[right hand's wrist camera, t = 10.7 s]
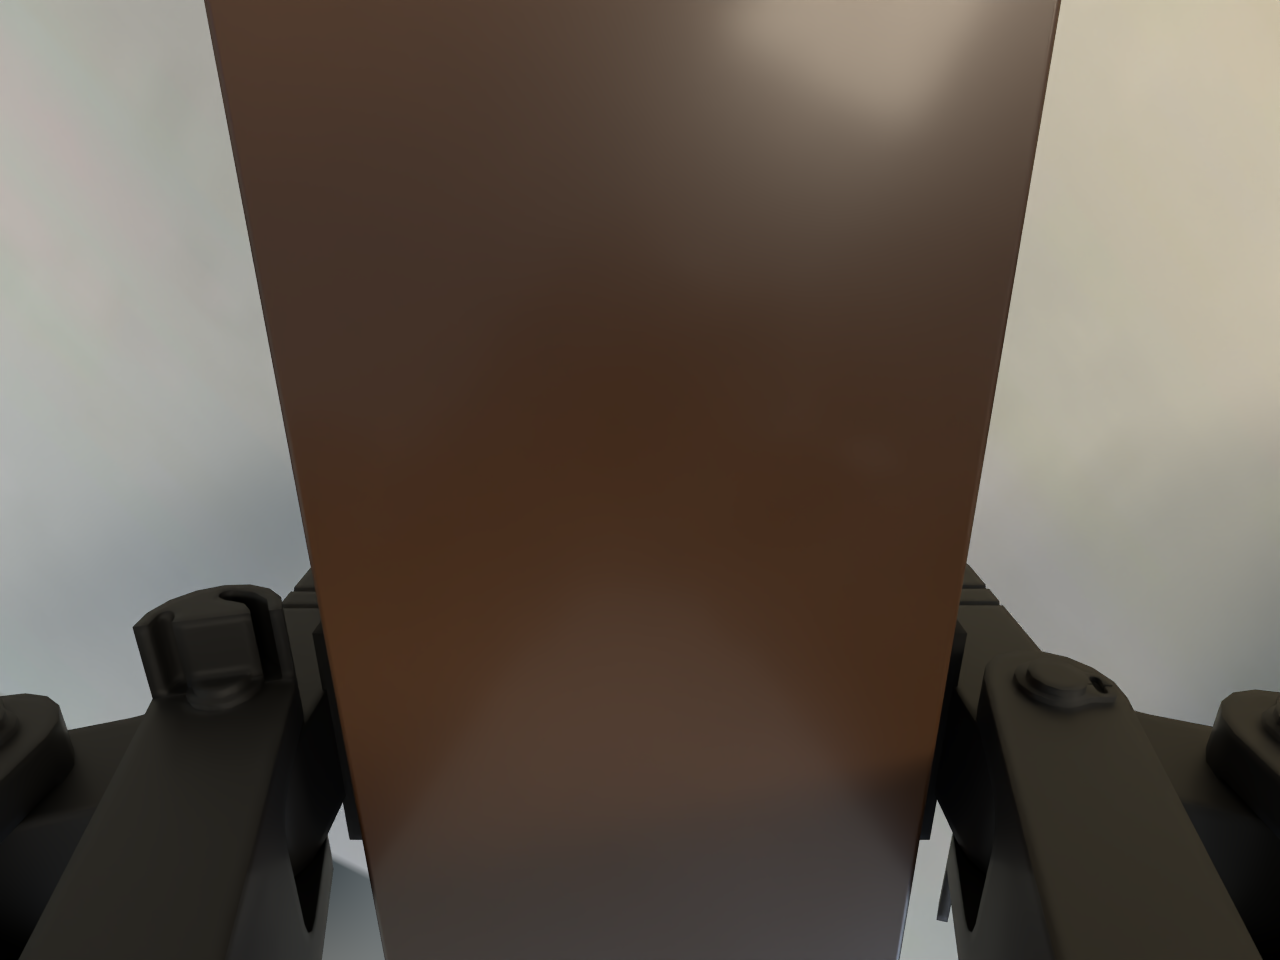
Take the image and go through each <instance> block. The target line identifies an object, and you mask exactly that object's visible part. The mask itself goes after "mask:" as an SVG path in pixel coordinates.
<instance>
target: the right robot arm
mask: <svg viewBox="0 0 1280 960" xmlns="http://www.w3.org/2000/svg"><path fill="white" fill-rule="evenodd" d="M133 630H134V634H135V638H136V641H137V645H138V648H139V652H140V655H141V659H142V662H143V666H144V670H145V673H146V677H147V680H148V684H149V687H150V691H151V694H152V698H153V699H152V701H151V703H150V705H149V707H148V709H147V711H146V713H145V715H141V716H137V717H133V718H129V719H123V720H118V721H113V722H108V723H103V724H98V725H93V726H88V727H83V728H77V729H72V730H67V727H66V725H65V722H64V719H63V716H62V713H61V710H60V707H59V705H58V704H57V703H55V702H54V701H53V700H51V699H50V698H49V697H47V696H41V695H33V694H26V693H25V694H16V695H7V696H0V960H322V954H323V946H324V938H325V930H326V923H327V915H328V907H329V899H330V892H331V884H332V876H333V863H332V855H331V850H330V844H329V839H328V832H329V830H330V828H331V826H332V824H333V822H334V820H335V817H336V815H337V813H338V811H339V809H340V807H341V805H342V803H343V805H344V811H345V816H346V822H347V827H348V833H349V838H350V840H362V835H361V830H360V824H359V819H358V814H357V809H356V803H355V798H354V793H353V787H352V782H351V777H350V771H349V766H348V761H347V756H346V750H345V745H344V740H343V734H342V729H341V724H340V718H339V713H338V708H337V702H336V697H335V692H334V687H333V681H332V676H331V671H330V665H329V660H328V655H327V649H326V644H325V639H324V634H323V628H322V623H321V618H320V612H319V607H318V602H317V596H316V591H315V586H314V580H313V575H312V570H311V568H310V569H309V571H308V572H307V573H306V574H305V575H304V577H303V578H302V579H301V580H300V581H299V583H298V584H297V585H296V586H295V587H294V592H290V593H289V594H288V596H287V597H286V598H285V599H284V600H283V602H282V600H281V597H280V596H279V595H278V594H276V593H275V592H274V591H272V590H271V589H269V588H264V587H259V586H255V585H224V586H218V587H213V588H208V589H203V590H198V591H194V592H192V593H189V594H186V595H183V596H180V597H177V598H175V599H172V600H169V601H167V602H166V603H164V604H162V605H160V606H159V607H157V608H155V609H153V610H151V611H150V612H148V613H147V614H146V615H144V616H143V617H142V618H141V619H140V620H139V621H138V622H137V623H136V624H135V625H134V626H133ZM937 800H938V802H939V804H940V806H941V809H942V811H943V813H944V815H945V817H946V819H947V821H948V823H949V825H950V827H951V830H952V832H953V834H952V839H951V844H950V850H949V855H948V860H947V865H946V870H945V875H944V880H943V885H942V890H941V895H940V901H939V907H938V914H937V920H940V921H944V922H948V917H949V912H950V907H951V905H952V913H953V921H954V928H955V936H956V944H957V952H958V959H959V960H1280V692H1271V691H1262V690H1249V691H1242V692H1234V693H1232V694H1231V695H1229V696H1228V697H1227V698H1225V699H1224V700H1223V701H1221V704H1220V707H1219V710H1218V713H1217V716H1216V719H1215V722H1214V725H1213V727H1211V726H1206V725H1200V724H1195V723H1190V722H1185V721H1180V720H1175V719H1169V718H1164V717H1159V716H1154V715H1149V714H1145V713H1141V712H1137V711H1134V710H1133V708H1132V706H1131V704H1130V702H1129V700H1128V698H1127V697H1126V696H1125V694H1124V693H1123V692H1122V691H1121V690H1120V688H1119V687H1118V686H1117V685H1116V684H1115V683H1114V682H1113V681H1112V680H1110V679H1109V678H1107V677H1106V676H1104V675H1103V674H1101V673H1100V672H1098V671H1097V670H1095V669H1094V668H1092V667H1089V666H1087V665H1085V664H1082V663H1080V662H1077V661H1075V660H1073V659H1070V658H1068V657H1064V656H1059V655H1055V654H1051V653H1046V652H1042V651H1041V650H1040V649H1039V648H1038V647H1037V645H1036V644H1035V643H1034V642H1033V641H1032V639H1031V638H1030V637H1029V636H1028V635H1027V634H1026V632H1025V631H1024V630H1023V629H1022V628H1021V626H1020V625H1019V624H1018V623H1017V622H1016V620H1015V619H1014V618H1013V617H1012V616H1011V615H1010V613H1009V612H1008V611H1007V610H1006V609H1005V607H1004V606H1003V605H999V600H998V599H997V598H996V597H995V596H994V594H993V593H992V592H991V591H990V590H989V589H986V588H985V584H984V582H983V581H982V580H981V579H980V578H979V577H978V575H977V574H976V573H975V572H974V571H973V569H972V568H971V567H970V566H969V565H968V564H966V568H965V573H964V579H963V585H962V591H961V597H960V603H959V609H958V615H957V621H956V627H955V633H954V639H953V645H952V651H951V656H950V662H949V668H948V674H947V680H946V686H945V692H944V698H943V704H942V710H941V716H940V722H939V728H938V734H937V739H936V745H935V751H934V757H933V763H932V769H931V775H930V781H929V787H928V793H927V799H926V805H925V811H924V817H923V822H922V828H921V834H920V840H930V835H931V829H932V824H933V818H934V813H935V807H936V802H937Z"/></svg>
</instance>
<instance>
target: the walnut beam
mask: <svg viewBox="0 0 1280 960" xmlns="http://www.w3.org/2000/svg"><path fill="white" fill-rule="evenodd" d="M204 2H205V8H206V13H207V18H208V24H209V29H210V34H211V39H212V45H213V50H214V55H215V61H216V66H217V71H218V77H219V82H220V87H221V92H222V98H223V103H224V108H225V114H226V119H227V124H228V130H229V135H230V140H231V146H232V151H233V156H234V161H235V167H236V172H237V177H238V183H239V188H240V193H241V199H242V204H243V209H244V214H245V220H246V225H247V230H248V236H249V241H250V246H251V252H252V257H253V262H254V268H255V273H256V278H257V283H258V289H259V294H260V299H261V305H262V310H263V315H264V321H265V326H266V331H267V336H268V342H269V347H270V352H271V358H272V363H273V368H274V374H275V379H276V384H277V390H278V395H279V400H280V405H281V411H282V416H283V421H284V427H285V432H286V437H287V443H288V448H289V453H290V458H291V464H292V469H293V474H294V480H295V485H296V490H297V496H298V501H299V506H300V512H301V517H302V522H303V527H304V533H305V538H306V543H307V549H308V554H309V559H310V565H311V570H312V575H313V580H314V586H315V591H316V596H317V602H318V607H319V612H320V618H321V623H322V628H323V634H324V639H325V644H326V649H327V655H328V660H329V665H330V671H331V676H332V681H333V687H334V692H335V697H336V702H337V708H338V713H339V718H340V724H341V729H342V734H343V740H344V745H345V750H346V756H347V761H348V766H349V771H350V777H351V782H352V787H353V793H354V798H355V803H356V809H357V814H358V819H359V824H360V830H361V835H362V840H363V846H364V851H365V856H366V862H367V867H368V872H369V878H370V883H371V888H372V893H373V899H374V904H375V909H376V915H377V920H378V925H379V930H380V936H381V941H382V946H383V952H384V957H385V960H899V959H900V953H901V947H902V941H903V935H904V929H905V923H906V917H907V911H908V906H909V900H910V894H911V888H912V882H913V876H914V870H915V864H916V858H917V852H918V846H919V840H920V834H921V828H922V822H923V817H924V811H925V805H926V799H927V793H928V787H929V781H930V775H931V769H932V763H933V757H934V751H935V745H936V739H937V734H938V728H939V722H940V716H941V710H942V704H943V698H944V692H945V686H946V680H947V674H948V668H949V662H950V656H951V651H952V645H953V639H954V633H955V627H956V621H957V615H958V609H959V603H960V597H961V591H962V585H963V579H964V573H965V568H966V562H967V556H968V550H969V544H970V538H971V532H972V526H973V520H974V514H975V508H976V502H977V496H978V490H979V484H980V479H981V473H982V467H983V461H984V455H985V449H986V443H987V437H988V431H989V425H990V419H991V413H992V407H993V401H994V396H995V390H996V384H997V378H998V372H999V366H1000V360H1001V354H1002V348H1003V342H1004V336H1005V330H1006V324H1007V318H1008V313H1009V307H1010V301H1011V295H1012V289H1013V283H1014V277H1015V271H1016V265H1017V259H1018V253H1019V247H1020V241H1021V235H1022V229H1023V224H1024V218H1025V212H1026V206H1027V200H1028V194H1029V188H1030V182H1031V176H1032V170H1033V164H1034V158H1035V152H1036V146H1037V141H1038V135H1039V129H1040V123H1041V117H1042V111H1043V105H1044V99H1045V93H1046V87H1047V81H1048V75H1049V69H1050V63H1051V58H1052V52H1053V46H1054V40H1055V34H1056V28H1057V22H1058V16H1059V10H1060V4H1061V0H204Z"/></svg>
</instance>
